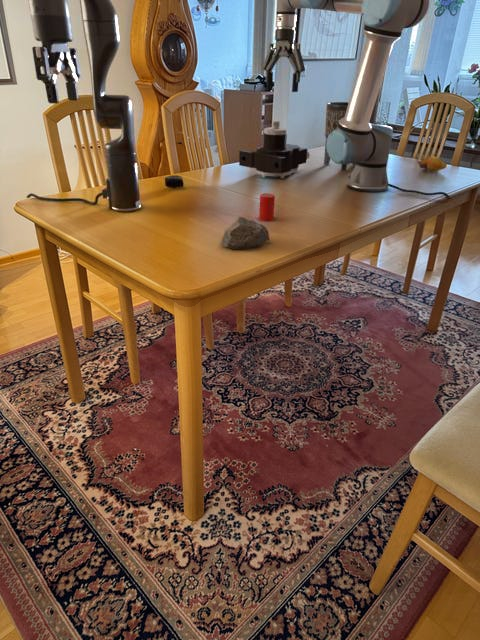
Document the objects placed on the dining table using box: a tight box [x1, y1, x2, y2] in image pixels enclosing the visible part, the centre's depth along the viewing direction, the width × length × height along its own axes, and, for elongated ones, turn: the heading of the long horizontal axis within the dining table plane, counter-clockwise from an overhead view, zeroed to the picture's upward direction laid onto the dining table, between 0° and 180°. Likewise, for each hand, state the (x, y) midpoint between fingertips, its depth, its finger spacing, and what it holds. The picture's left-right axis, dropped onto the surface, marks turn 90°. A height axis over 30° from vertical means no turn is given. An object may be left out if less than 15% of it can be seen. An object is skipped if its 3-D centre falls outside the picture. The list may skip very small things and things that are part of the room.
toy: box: [417, 156, 448, 172], centre depth 207 cm, size 11×6×15 cm
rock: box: [221, 216, 270, 250], centre depth 119 cm, size 13×9×6 cm, turn 131°
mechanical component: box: [238, 120, 311, 179], centre depth 191 cm, size 22×21×30 cm
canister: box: [258, 192, 276, 222], centre depth 139 cm, size 4×4×7 cm
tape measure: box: [164, 175, 184, 189], centre depth 171 cm, size 7×7×4 cm
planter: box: [323, 101, 371, 172], centre depth 204 cm, size 20×20×26 cm
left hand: (64, 101), depth 101 cm, fingers open, 8 cm apart
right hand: (281, 91), depth 183 cm, fingers open, 13 cm apart
